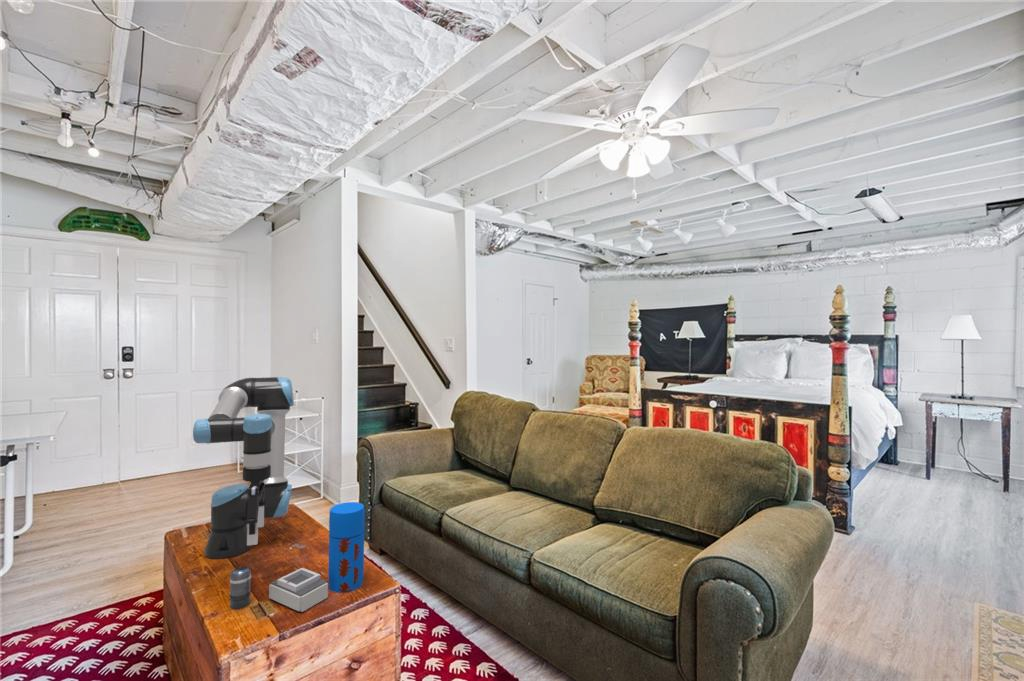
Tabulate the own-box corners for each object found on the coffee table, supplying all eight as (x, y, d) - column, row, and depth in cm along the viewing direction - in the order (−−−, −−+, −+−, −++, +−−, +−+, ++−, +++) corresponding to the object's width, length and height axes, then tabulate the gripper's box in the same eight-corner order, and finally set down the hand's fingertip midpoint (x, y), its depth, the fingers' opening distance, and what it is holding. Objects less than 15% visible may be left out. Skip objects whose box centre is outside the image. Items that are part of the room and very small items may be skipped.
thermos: (334, 576, 156) (335, 502, 156) (366, 575, 157) (367, 501, 157) (323, 593, 145) (325, 514, 145) (358, 592, 146) (360, 513, 146)
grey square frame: (269, 599, 141) (269, 577, 141) (296, 585, 150) (297, 564, 150) (300, 613, 134) (300, 590, 134) (327, 598, 143) (328, 576, 143)
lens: (225, 606, 137) (225, 572, 137) (243, 597, 142) (244, 564, 142) (236, 612, 135) (236, 577, 135) (254, 602, 140) (255, 569, 140)
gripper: (249, 457, 151) (248, 522, 151) (235, 478, 128) (233, 554, 128) (275, 455, 154) (274, 519, 154) (265, 475, 131) (264, 550, 131)
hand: (255, 535), depth 141 cm, fingers open, 13 cm apart
